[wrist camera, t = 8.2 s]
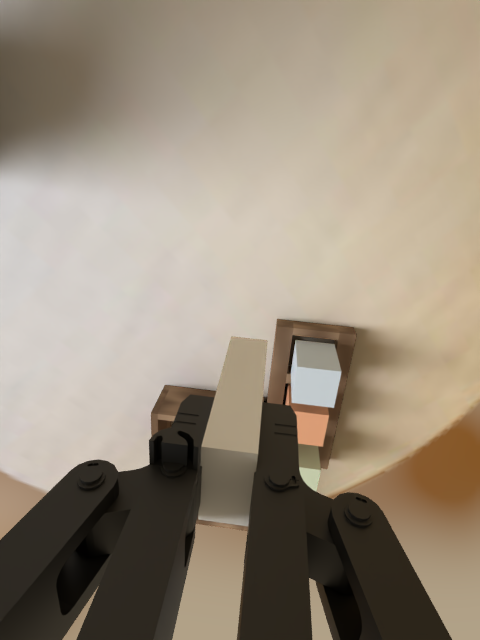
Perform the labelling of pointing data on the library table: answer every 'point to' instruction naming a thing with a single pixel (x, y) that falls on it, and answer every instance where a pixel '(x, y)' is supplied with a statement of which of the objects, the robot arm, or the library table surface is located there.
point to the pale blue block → (315, 374)
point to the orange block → (309, 421)
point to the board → (282, 371)
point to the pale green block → (309, 465)
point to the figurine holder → (167, 413)
